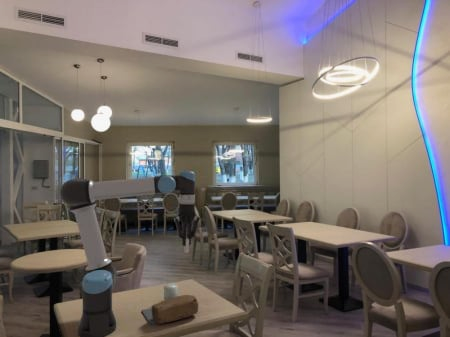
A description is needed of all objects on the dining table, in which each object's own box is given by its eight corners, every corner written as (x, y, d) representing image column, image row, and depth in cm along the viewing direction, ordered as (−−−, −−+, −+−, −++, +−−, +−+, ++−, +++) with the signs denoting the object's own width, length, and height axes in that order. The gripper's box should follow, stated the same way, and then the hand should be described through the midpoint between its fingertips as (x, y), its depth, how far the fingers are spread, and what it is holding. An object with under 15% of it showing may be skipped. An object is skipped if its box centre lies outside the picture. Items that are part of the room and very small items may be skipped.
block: (199, 298, 155) (158, 310, 144) (199, 314, 155) (158, 327, 144) (188, 291, 164) (149, 301, 153) (188, 306, 164) (149, 317, 153)
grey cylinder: (166, 305, 168) (166, 289, 168) (162, 300, 174) (161, 285, 174) (179, 302, 171) (179, 286, 171) (174, 298, 178) (174, 282, 178)
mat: (150, 325, 147) (150, 323, 147) (141, 311, 161) (141, 310, 161) (189, 316, 155) (189, 315, 155) (177, 304, 169) (177, 303, 169)
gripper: (176, 204, 157) (176, 255, 157) (202, 203, 163) (201, 252, 163) (171, 203, 163) (171, 251, 163) (196, 202, 169) (196, 249, 169)
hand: (186, 252), depth 163 cm, fingers closed
